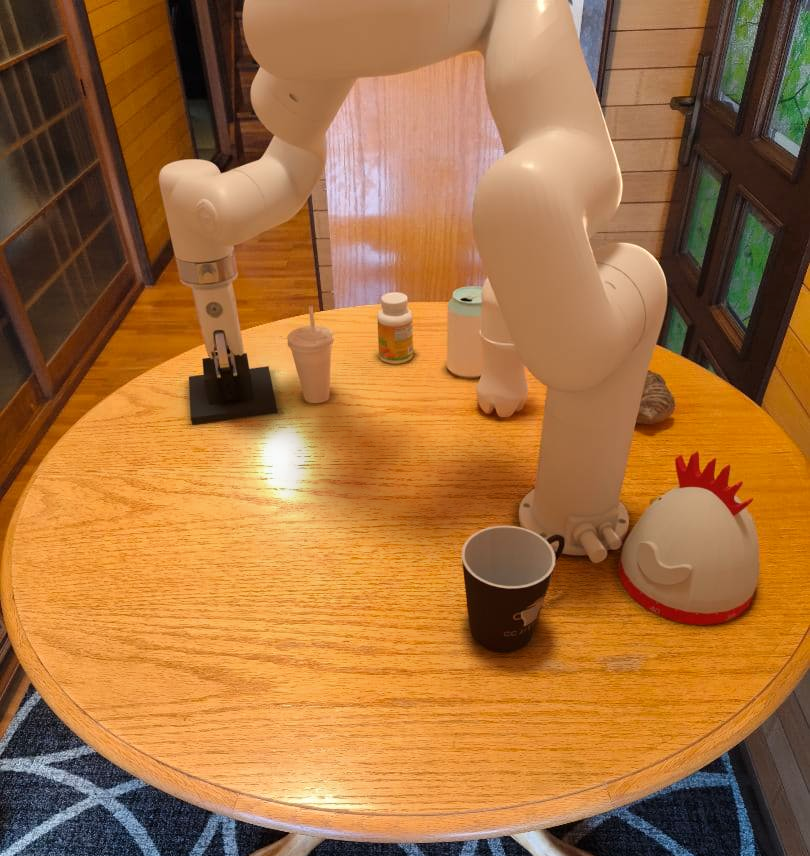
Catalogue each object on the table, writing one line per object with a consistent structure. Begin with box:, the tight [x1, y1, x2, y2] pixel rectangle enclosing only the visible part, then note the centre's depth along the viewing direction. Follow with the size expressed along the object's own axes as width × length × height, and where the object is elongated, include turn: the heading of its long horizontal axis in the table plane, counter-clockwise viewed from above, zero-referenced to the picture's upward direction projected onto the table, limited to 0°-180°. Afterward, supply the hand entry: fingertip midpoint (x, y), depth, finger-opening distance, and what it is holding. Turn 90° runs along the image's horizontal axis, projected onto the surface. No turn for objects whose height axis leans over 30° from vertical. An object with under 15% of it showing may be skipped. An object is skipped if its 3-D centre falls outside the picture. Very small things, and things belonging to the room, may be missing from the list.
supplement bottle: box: [376, 291, 414, 365], centre depth 118 cm, size 5×5×10 cm
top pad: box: [201, 352, 254, 404], centre depth 110 cm, size 6×6×4 cm
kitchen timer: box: [617, 450, 760, 626], centre depth 77 cm, size 14×14×15 cm
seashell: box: [635, 369, 676, 425], centre depth 104 cm, size 9×7×8 cm
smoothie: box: [286, 304, 335, 404], centre depth 107 cm, size 6×6×14 cm
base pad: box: [188, 365, 279, 426], centre depth 111 cm, size 12×12×3 cm
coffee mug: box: [461, 525, 565, 654], centre depth 74 cm, size 12×9×10 cm
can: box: [446, 285, 483, 379], centre depth 113 cm, size 7×7×12 cm
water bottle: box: [475, 277, 529, 418], centre depth 100 cm, size 7×7×25 cm
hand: (230, 386), depth 111 cm, fingers closed on top pad, 6 cm apart
